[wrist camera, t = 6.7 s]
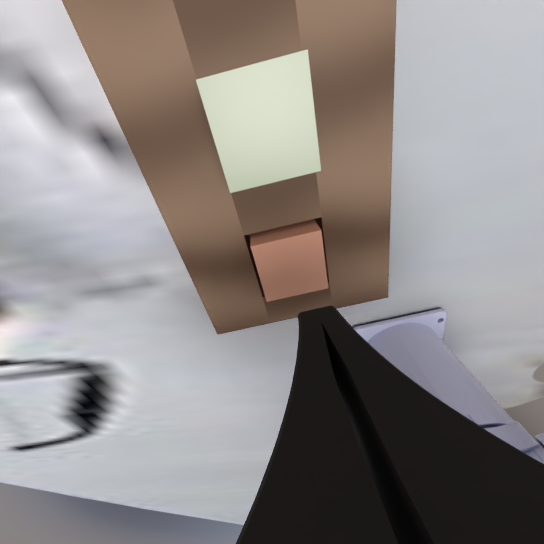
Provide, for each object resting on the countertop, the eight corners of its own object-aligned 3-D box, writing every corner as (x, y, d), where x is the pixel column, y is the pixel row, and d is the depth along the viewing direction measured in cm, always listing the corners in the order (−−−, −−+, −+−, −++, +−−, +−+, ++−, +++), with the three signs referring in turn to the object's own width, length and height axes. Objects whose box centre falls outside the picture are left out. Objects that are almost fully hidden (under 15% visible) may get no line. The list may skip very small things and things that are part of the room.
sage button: (306, 161, 13) (321, 170, 10) (234, 179, 13) (230, 193, 10) (293, 67, 11) (307, 49, 8) (208, 90, 11) (195, 79, 8)
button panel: (372, 277, 19) (387, 297, 17) (221, 311, 20) (217, 334, 18) (365, -368, 7) (412, -573, 5) (-13, -236, 8) (-112, -370, 6)
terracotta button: (317, 264, 18) (328, 288, 15) (264, 276, 18) (266, 301, 15) (309, 212, 16) (321, 229, 13) (250, 226, 16) (250, 246, 13)
